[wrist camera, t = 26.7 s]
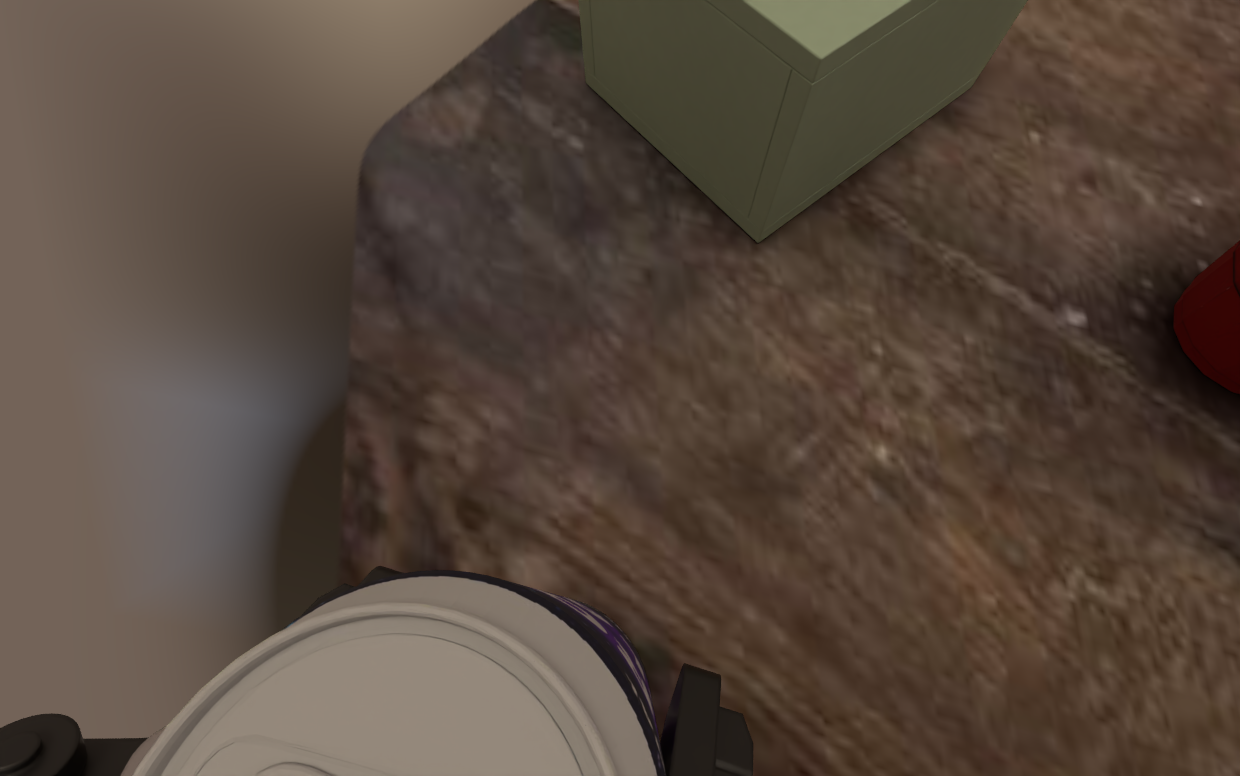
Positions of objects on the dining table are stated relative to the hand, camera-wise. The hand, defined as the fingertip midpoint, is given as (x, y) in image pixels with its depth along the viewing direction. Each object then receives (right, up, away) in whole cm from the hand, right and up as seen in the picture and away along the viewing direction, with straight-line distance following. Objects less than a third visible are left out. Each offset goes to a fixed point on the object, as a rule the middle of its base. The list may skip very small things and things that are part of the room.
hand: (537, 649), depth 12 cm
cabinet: (+10, +21, +18) cm, 29 cm away
